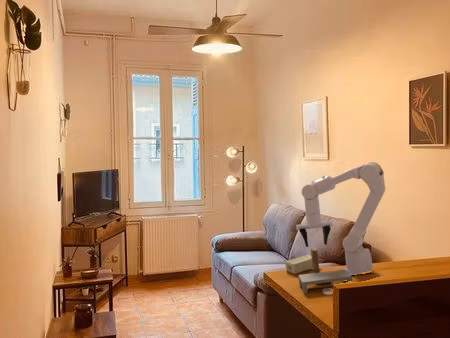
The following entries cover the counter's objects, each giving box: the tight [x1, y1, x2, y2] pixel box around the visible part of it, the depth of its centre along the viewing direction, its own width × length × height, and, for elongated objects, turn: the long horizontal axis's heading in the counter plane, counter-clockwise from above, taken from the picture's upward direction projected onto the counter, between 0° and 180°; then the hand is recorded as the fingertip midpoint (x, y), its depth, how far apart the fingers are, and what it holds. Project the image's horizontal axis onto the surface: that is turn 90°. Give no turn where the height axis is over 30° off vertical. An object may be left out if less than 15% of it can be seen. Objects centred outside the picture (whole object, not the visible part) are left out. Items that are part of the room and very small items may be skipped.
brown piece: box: [310, 247, 320, 273], centre depth 170 cm, size 6×12×10 cm, turn 0°
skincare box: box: [284, 254, 313, 275], centre depth 182 cm, size 6×4×12 cm
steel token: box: [321, 287, 333, 296], centre depth 154 cm, size 5×5×1 cm
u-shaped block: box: [298, 268, 353, 294], centre depth 160 cm, size 18×8×4 cm, turn 90°
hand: (316, 245), depth 178 cm, fingers open, 7 cm apart
